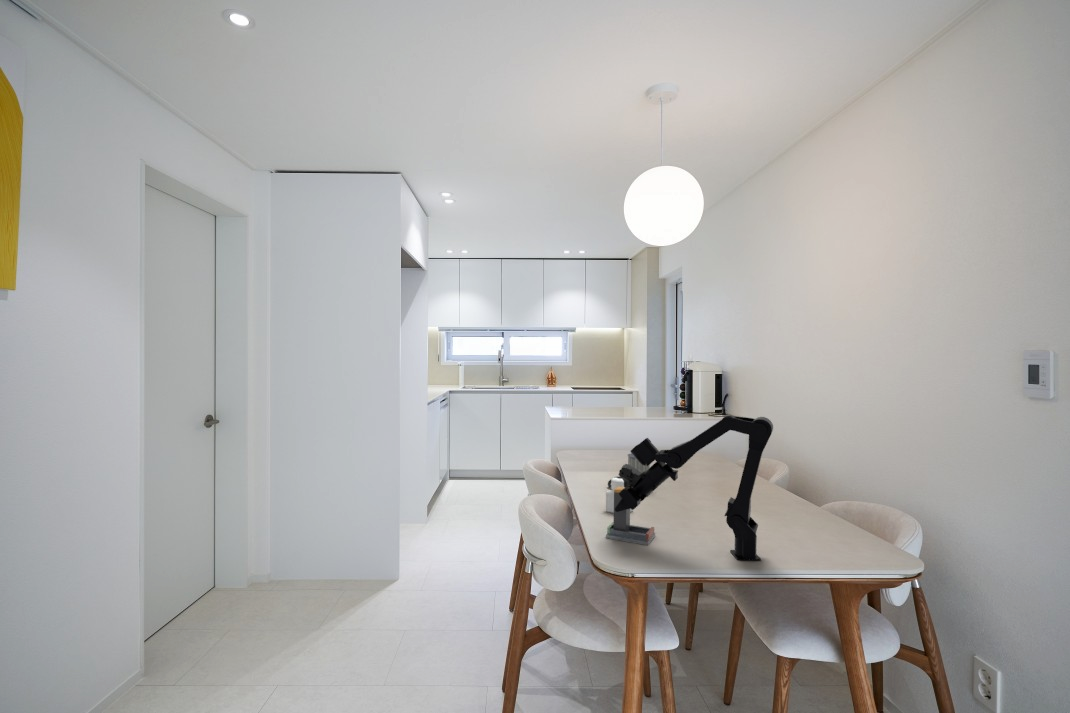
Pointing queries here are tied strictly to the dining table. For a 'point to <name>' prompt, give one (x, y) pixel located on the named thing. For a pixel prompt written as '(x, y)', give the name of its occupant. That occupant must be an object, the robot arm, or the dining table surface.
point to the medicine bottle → (610, 494)
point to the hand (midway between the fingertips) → (617, 508)
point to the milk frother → (634, 466)
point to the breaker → (620, 513)
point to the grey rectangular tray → (632, 534)
